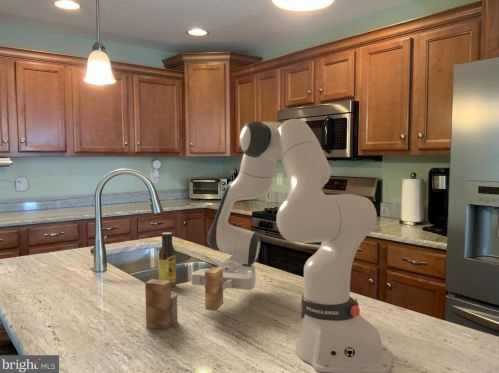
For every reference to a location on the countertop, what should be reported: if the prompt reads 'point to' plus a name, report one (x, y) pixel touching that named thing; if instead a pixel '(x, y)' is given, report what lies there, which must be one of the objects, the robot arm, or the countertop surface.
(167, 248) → the sauce bottle
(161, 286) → the hinge post
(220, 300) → the light brown wooden block
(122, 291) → the countertop surface
